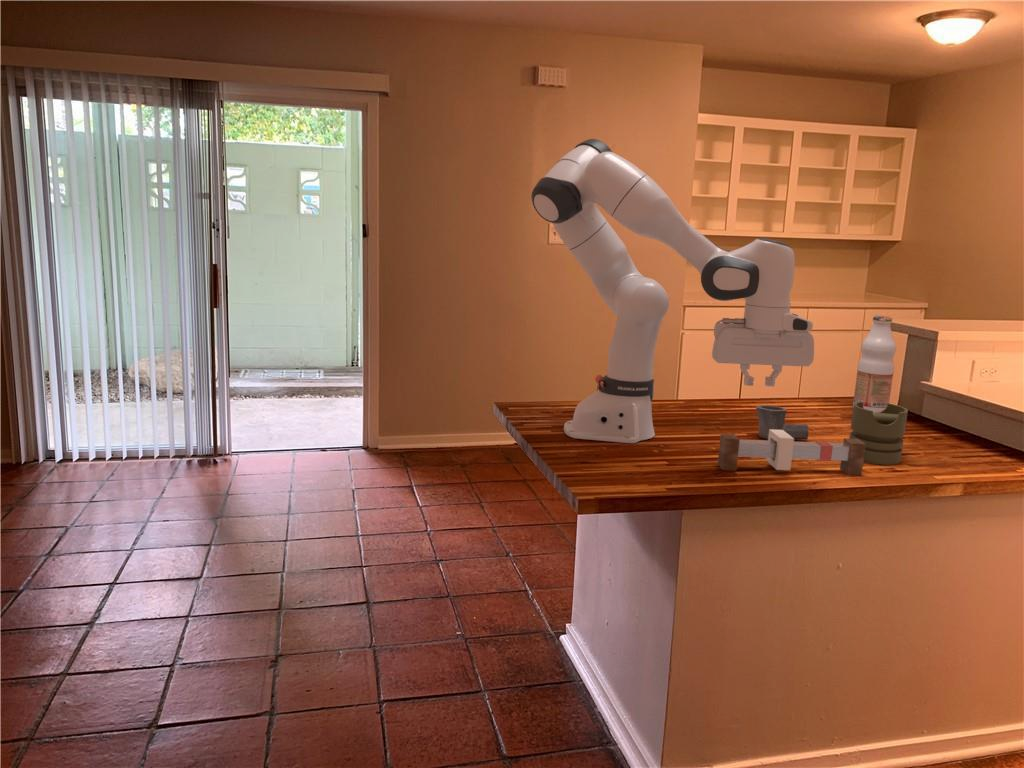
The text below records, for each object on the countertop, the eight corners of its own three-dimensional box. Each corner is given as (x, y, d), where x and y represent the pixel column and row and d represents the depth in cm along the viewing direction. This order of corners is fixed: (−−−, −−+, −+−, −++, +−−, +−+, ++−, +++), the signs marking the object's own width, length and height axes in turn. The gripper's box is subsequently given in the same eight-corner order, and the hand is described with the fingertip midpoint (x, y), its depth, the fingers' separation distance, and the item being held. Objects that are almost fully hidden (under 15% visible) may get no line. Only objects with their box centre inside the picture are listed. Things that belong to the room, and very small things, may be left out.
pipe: (808, 445, 189) (812, 413, 187) (754, 440, 191) (757, 408, 190) (804, 438, 195) (808, 407, 193) (751, 433, 197) (755, 403, 195)
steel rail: (728, 457, 166) (729, 442, 166) (723, 452, 169) (725, 438, 169) (857, 461, 166) (859, 447, 166) (851, 457, 170) (853, 442, 169)
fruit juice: (846, 411, 226) (859, 315, 220) (859, 406, 232) (872, 313, 226) (879, 417, 219) (893, 319, 213) (892, 413, 226) (906, 317, 220)
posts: (722, 470, 166) (725, 438, 165) (717, 464, 170) (720, 433, 169) (861, 475, 167) (865, 444, 165) (853, 469, 171) (857, 438, 169)
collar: (776, 469, 165) (779, 438, 163) (765, 459, 172) (769, 429, 170) (790, 470, 165) (794, 438, 163) (779, 460, 172) (782, 429, 170)
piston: (848, 399, 184) (899, 403, 182) (842, 448, 187) (892, 452, 185) (860, 411, 173) (914, 415, 171) (853, 462, 176) (906, 466, 174)
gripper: (719, 319, 155) (712, 386, 158) (821, 323, 155) (812, 390, 158) (711, 315, 161) (705, 380, 164) (809, 319, 162) (801, 384, 165)
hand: (758, 385), depth 161 cm, fingers open, 3 cm apart
